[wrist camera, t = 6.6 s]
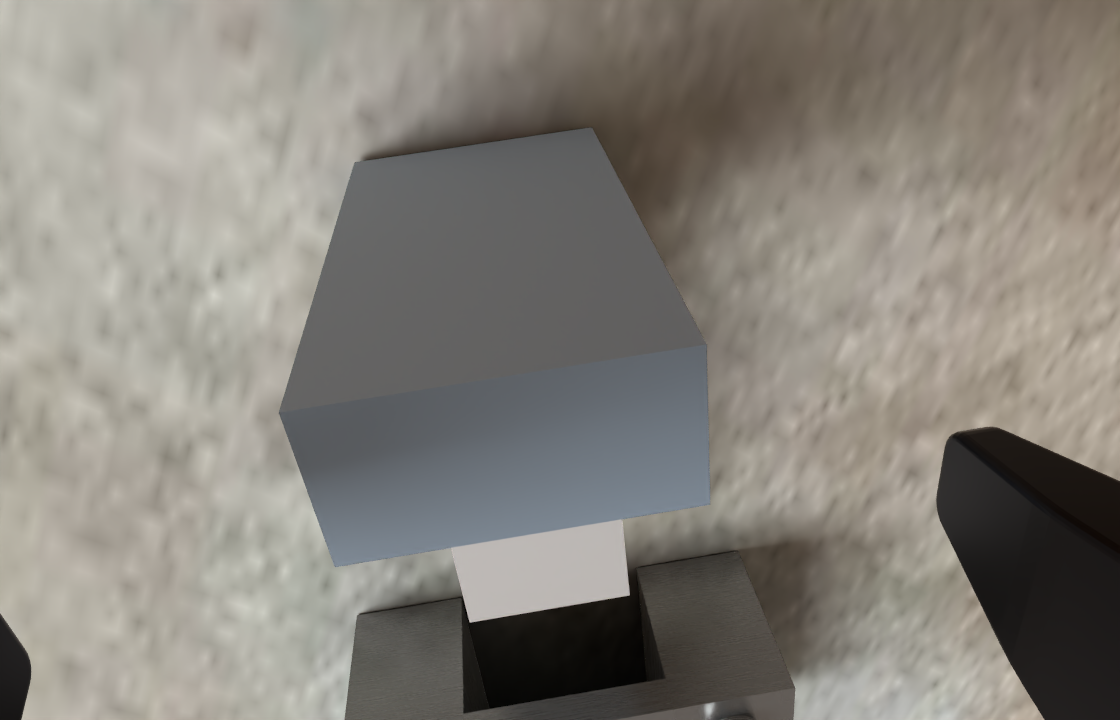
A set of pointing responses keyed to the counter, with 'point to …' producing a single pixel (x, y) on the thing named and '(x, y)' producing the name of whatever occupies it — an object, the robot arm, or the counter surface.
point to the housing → (603, 715)
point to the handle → (498, 373)
